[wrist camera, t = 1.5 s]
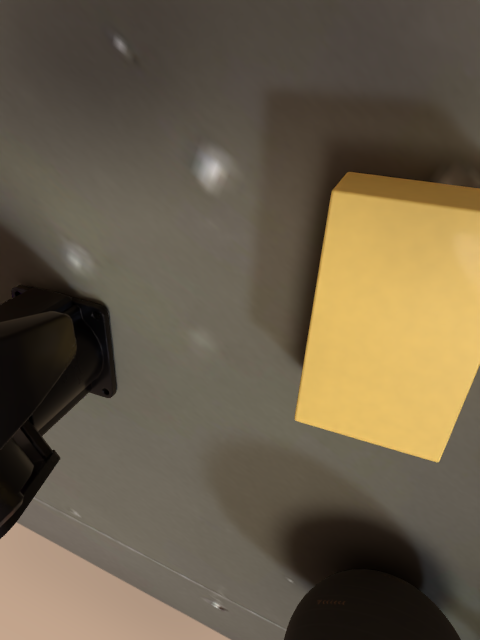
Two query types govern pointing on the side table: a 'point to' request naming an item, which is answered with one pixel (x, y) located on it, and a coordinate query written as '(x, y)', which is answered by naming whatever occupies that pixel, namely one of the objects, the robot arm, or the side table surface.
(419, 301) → the packet
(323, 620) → the speaker
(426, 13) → the side table surface
